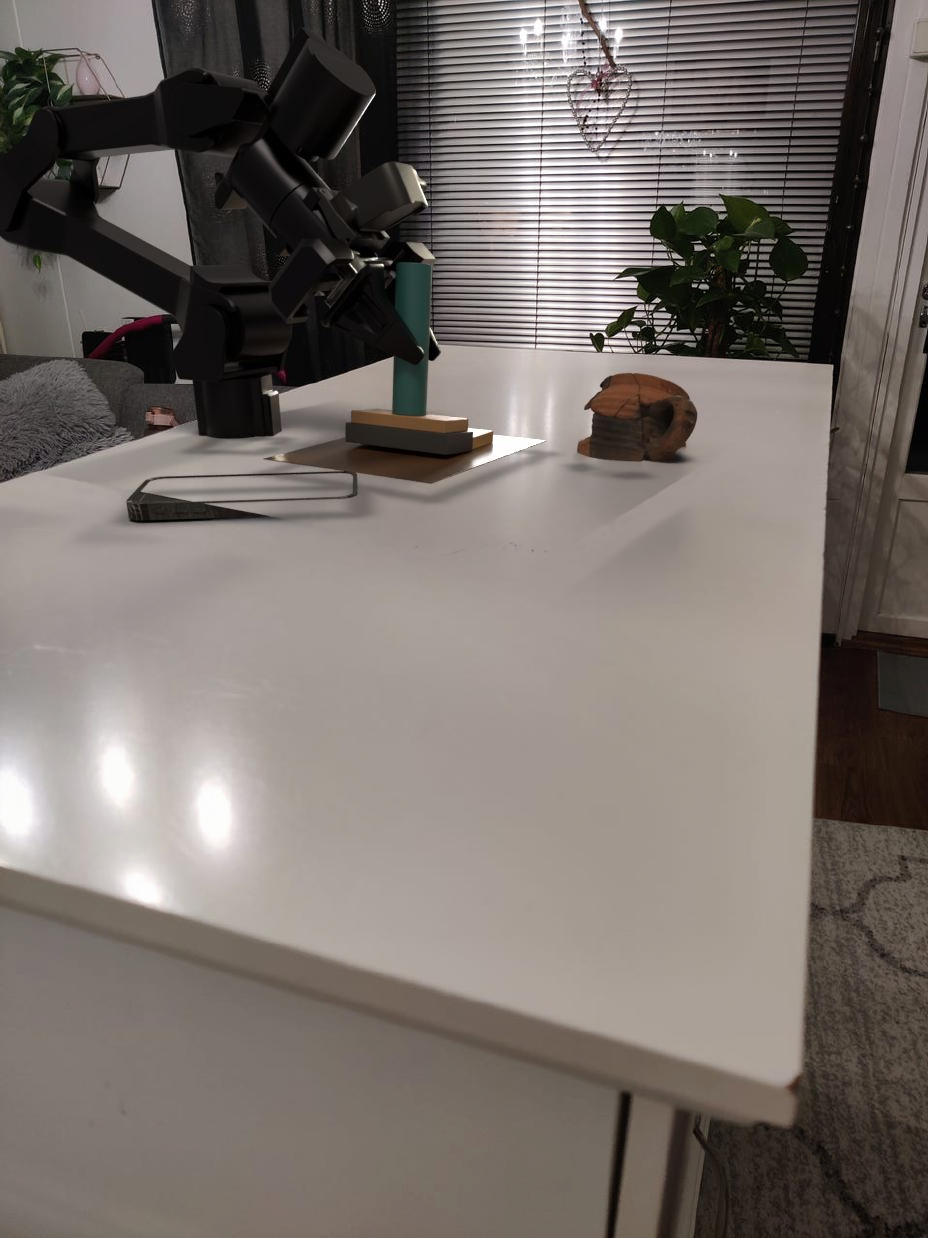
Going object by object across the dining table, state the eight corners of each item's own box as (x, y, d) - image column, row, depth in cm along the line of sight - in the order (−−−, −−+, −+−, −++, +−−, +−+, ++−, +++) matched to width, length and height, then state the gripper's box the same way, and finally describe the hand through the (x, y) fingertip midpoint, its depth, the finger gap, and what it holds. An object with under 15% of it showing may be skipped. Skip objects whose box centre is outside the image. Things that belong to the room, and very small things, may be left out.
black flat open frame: (148, 476, 63) (356, 470, 65) (150, 492, 64) (357, 485, 65) (121, 505, 56) (357, 496, 58) (124, 521, 56) (358, 513, 58)
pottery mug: (545, 467, 73) (571, 374, 74) (627, 505, 78) (651, 417, 78) (641, 455, 63) (670, 347, 63) (730, 499, 68) (756, 399, 68)
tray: (264, 473, 70) (262, 458, 69) (396, 436, 84) (395, 424, 83) (431, 499, 62) (431, 483, 61) (546, 454, 76) (546, 440, 76)
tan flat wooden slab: (428, 445, 74) (428, 433, 73) (453, 438, 77) (453, 426, 76) (469, 450, 72) (469, 438, 71) (493, 442, 75) (493, 430, 74)
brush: (345, 441, 73) (347, 260, 69) (373, 438, 76) (377, 265, 72) (446, 455, 68) (455, 261, 64) (472, 451, 71) (482, 266, 67)
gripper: (292, 102, 57) (451, 285, 57) (411, 137, 73) (534, 280, 73) (205, 236, 62) (350, 402, 63) (333, 241, 79) (448, 373, 79)
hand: (429, 358), depth 69 cm, fingers closed on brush, 3 cm apart
